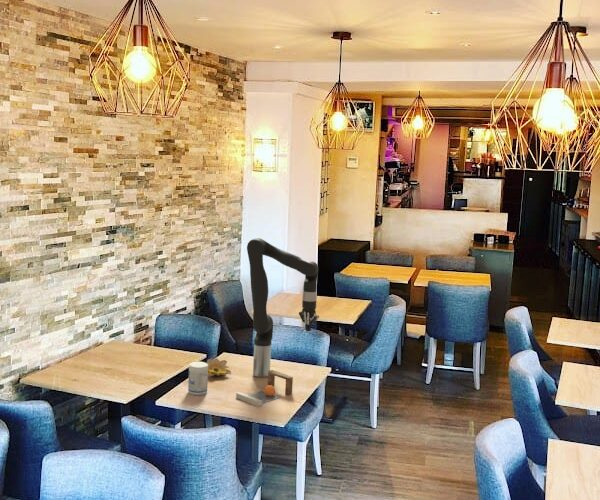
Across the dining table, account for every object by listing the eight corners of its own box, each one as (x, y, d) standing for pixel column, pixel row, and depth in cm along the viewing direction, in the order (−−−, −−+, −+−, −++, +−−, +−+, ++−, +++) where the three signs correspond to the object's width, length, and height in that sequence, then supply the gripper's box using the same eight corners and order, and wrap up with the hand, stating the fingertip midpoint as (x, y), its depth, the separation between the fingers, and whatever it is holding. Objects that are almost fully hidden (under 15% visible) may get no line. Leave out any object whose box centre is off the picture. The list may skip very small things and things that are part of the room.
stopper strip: (258, 406, 333) (259, 401, 332) (236, 397, 343) (236, 392, 343) (261, 405, 334) (261, 400, 334) (239, 396, 345) (239, 391, 344)
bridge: (288, 395, 349) (288, 378, 348) (267, 388, 359) (268, 371, 357) (292, 394, 351) (292, 376, 350) (271, 386, 361) (272, 369, 360)
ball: (269, 399, 349) (263, 396, 344) (266, 389, 352) (261, 386, 348) (278, 394, 347) (272, 391, 343) (275, 385, 350) (270, 381, 346)
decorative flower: (204, 378, 365) (205, 358, 366) (199, 376, 375) (200, 357, 376) (232, 377, 371) (232, 358, 372) (226, 376, 381) (226, 357, 382)
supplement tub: (184, 392, 348) (184, 364, 346) (198, 387, 355) (199, 360, 353) (197, 397, 342) (197, 368, 340) (211, 392, 349) (212, 364, 347)
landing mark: (261, 404, 336) (261, 403, 336) (243, 396, 345) (243, 396, 345) (280, 397, 346) (280, 397, 346) (261, 390, 355) (261, 390, 355)
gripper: (323, 300, 368) (321, 332, 370) (304, 296, 376) (303, 327, 379) (314, 302, 362) (312, 334, 364) (295, 298, 371) (294, 329, 373)
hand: (308, 330), depth 372 cm, fingers closed
